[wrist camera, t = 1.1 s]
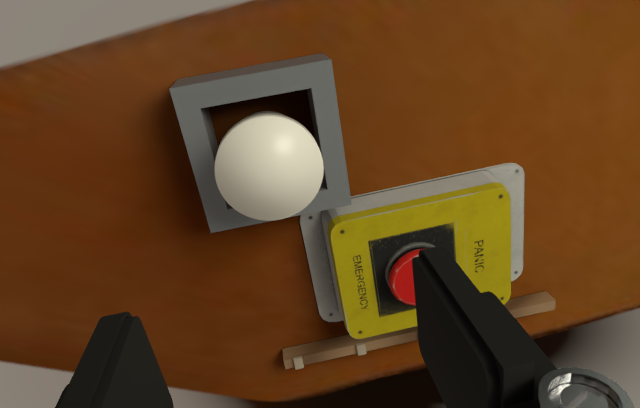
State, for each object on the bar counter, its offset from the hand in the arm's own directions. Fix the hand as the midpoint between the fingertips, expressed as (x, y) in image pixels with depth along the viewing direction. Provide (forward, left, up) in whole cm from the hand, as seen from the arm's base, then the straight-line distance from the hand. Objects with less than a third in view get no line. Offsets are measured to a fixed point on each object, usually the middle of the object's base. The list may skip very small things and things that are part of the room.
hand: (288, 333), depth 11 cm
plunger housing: (0, 0, -18) cm, 18 cm away
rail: (-8, +16, -18) cm, 25 cm away
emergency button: (-8, +9, -18) cm, 22 cm away
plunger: (0, 0, -15) cm, 15 cm away
